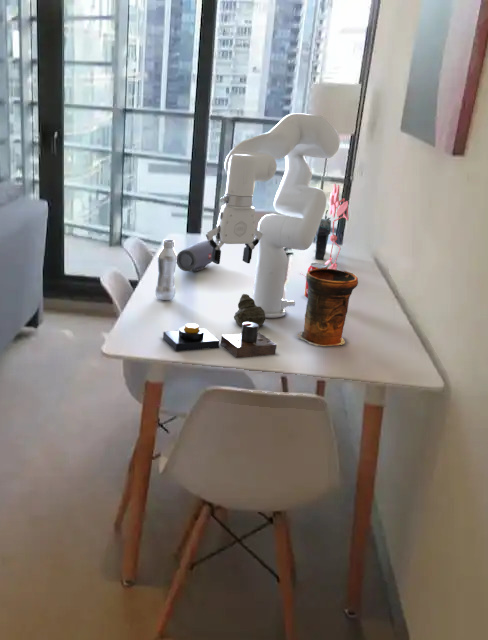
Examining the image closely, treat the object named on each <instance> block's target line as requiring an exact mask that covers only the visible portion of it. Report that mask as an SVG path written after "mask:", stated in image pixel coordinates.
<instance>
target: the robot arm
mask: <svg viewBox="0 0 488 640" xmlns="http://www.w3.org/2000/svg"><path fill="white" fill-rule="evenodd" d="M340 143H341V140H340V135H339V132H338V131H337V129H336V128H335V126H334V125H333V124H332V123H331V122H330V121H329V120H328V118H326V117H325V116H322V115H319V114H310V113H309V114H308V113H297V112H296V113H290V114H286V115H285V116H284V117H283V118H282V119H281V120H280V121H279V122H278V123H277V124H275V126H273V127H272V128H271V129H270V130H269V131H268V132H264V133H261V134H258V135H256V136H252V137H249V138H246V139H244V140H242V141H240V142H238V143H237V144H236V145H235V146H234V147H233V148H232V149H231V150H230V151H229V152H228V154H227V155H226V157H225V161H224V164H223V166H224V172H225V174H226V175H227V177H226V188H225V194H224V196H221V198H220V202H221V203H223V204H222V205H221V208H220V212H219V214H218V218H217V224H216V227H215V228H213V229H211V230H209V231H208V232H206V233H205V237H206V239H207V240H208V243H209V244H210V245H211V247H212V248H213V252H212V261H213V262H212V263H214V264H216V265H220V263H221V255H222V250H221V248H222V247H223V246H224V244H225V245H245V247H243V253H242V262H244V263H246V264H251V261H252V257H253V250H255V247H256V246H257V257H256V266H255V275H254V283H253V291H252V297H251V298H252V299H253V300H254V302H255V305H256V306H257V307H261V308H262V309H263V310H264V313H265V319H266V318H268V319H276V318H277V319H278V318H282V317H284V316H285V315H286V309H285V308H287V307H288V308H290V307H295V306H296V301H295V300H288V299H284V298H283V297H284V291H285V282H286V275H287V268H288V256H287V253H286V251H285V248H286V249H291V250H297V251H305V250H308V249H309V248H310V247H311V245H312V244H313V242H314V237H315V235H316V232H317V230H318V227H319V225H320V222H321V219H323V217H324V214H325V212H326V207H327V203H328V202H327V194H326V192H325V191H324V190H323V189H321V188H319V187H315V186H310V184H311V181H312V178H313V172H312V169H311V167H310V164H309V163H308V161H307V160H306V157H310V158H318V159H331V158H333V157H335V155H336V154H337V153H338V151H339V148H340V145H341V144H340ZM283 158H284V159H285V160H284V161H285V171H284V173H283V177H282V178H281V181H280V184H279V187H278V189H277V191H276V194H275V197H274V200H273V209H274V210H275V212H276V213H269V214H265V215H264V216H262V217H261V219H260V220H259V221H258V224H257V229H256V209H255V207H254V206H253V200H254V192H255V185H256V182H260V183H263V182H264V183H265V182H268V181H270V180H272V178H274V176H275V174H276V172H277V168H278V167H277V165H278V164H277V161H276V160H281V159H283ZM214 236H215V240H214ZM207 240H206V241H207ZM219 249H220V250H219Z"/></svg>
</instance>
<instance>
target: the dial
mask: <svg viewBox="0 0 488 640" xmlns="http://www.w3.org/2000/svg"><path fill="white" fill-rule="evenodd" d="M259 328H260V327H259V325H258V324H257V323H253V322H244V323H243V325H242V326H241V333H240V334H241V340H242V341H245V342H256V341H257V335H258V333H259Z"/></svg>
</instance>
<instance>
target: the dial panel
mask: <svg viewBox="0 0 488 640" xmlns="http://www.w3.org/2000/svg"><path fill="white" fill-rule="evenodd" d="M220 346H221V347H222V348H223V349H224V350H226V351H227V352H228V353H229V354H231V355H232V356H233V357H235V358H237V359H238V358H250V357H251V358H253V357H265V356H276V351H277V343H275V342H274V341H272V340H271V339H269V338H268V337H266V336H265V335H264V334H262V333H261V332H258V335H257V341H256V342H245V341H242V340H241V333H234V334H232V333H231V334H222V335H221V337H220Z"/></svg>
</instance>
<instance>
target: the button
mask: <svg viewBox="0 0 488 640" xmlns="http://www.w3.org/2000/svg"><path fill="white" fill-rule="evenodd" d="M184 326H185V332H188V333H198V332H199V328H200V325H199V324H197V323H192V322H191V323H189V322H188V323H186V324H185V325H184Z"/></svg>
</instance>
